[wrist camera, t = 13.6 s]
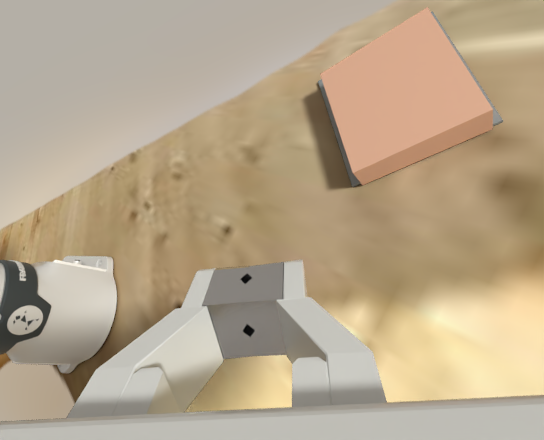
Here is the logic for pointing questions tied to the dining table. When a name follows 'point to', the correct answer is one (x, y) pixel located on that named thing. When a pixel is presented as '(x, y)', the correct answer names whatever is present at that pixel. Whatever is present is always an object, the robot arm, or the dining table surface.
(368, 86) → the board
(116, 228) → the dining table surface
